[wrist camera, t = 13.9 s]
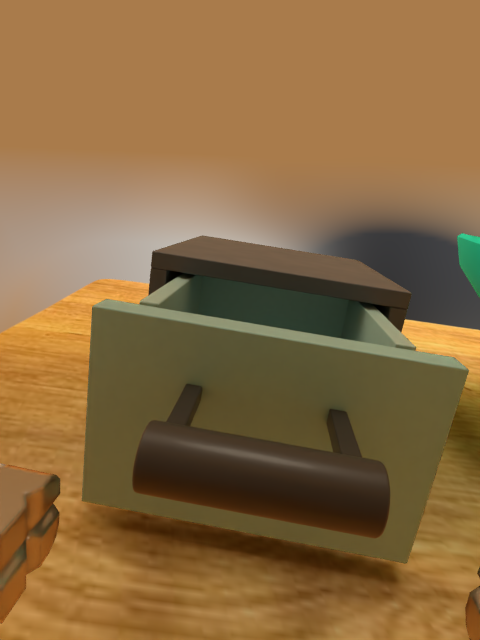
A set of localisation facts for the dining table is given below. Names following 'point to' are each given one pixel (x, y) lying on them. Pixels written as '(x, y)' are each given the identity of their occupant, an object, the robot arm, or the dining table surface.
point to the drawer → (266, 415)
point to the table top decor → (470, 258)
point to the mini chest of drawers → (280, 272)
